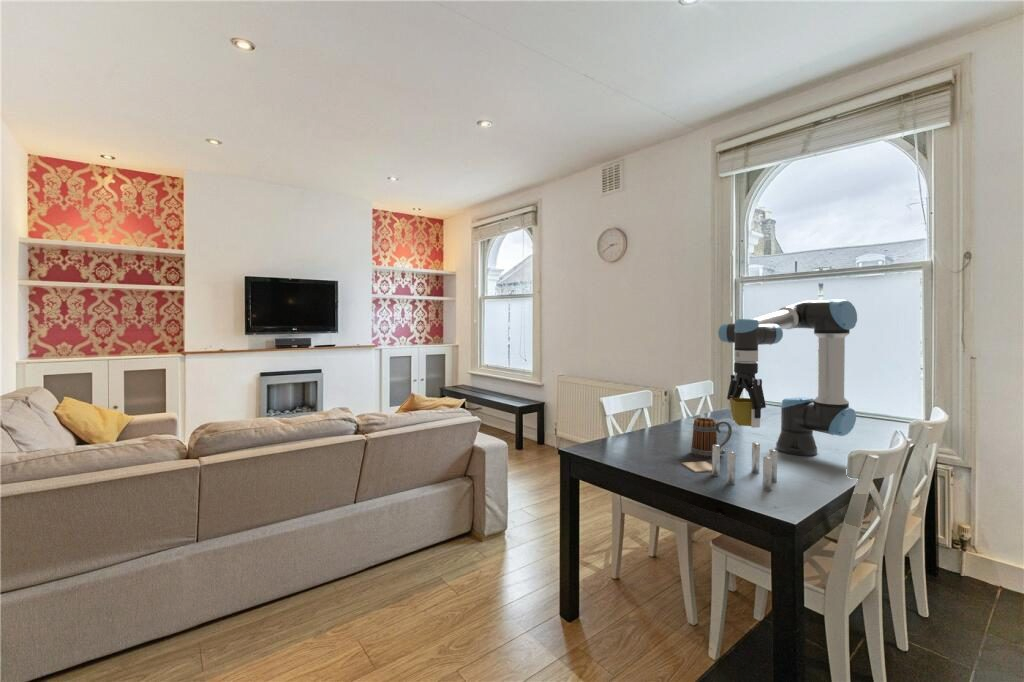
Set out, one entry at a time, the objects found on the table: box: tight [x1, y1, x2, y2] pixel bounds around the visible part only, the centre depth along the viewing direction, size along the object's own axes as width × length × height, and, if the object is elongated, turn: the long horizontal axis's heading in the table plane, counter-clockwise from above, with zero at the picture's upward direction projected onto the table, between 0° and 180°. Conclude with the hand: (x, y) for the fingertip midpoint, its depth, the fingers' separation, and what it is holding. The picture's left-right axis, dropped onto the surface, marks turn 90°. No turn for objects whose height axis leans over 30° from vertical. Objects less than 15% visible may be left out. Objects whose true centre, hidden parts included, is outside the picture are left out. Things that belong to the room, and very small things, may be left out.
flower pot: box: [729, 397, 762, 427], centre depth 163 cm, size 9×9×9 cm
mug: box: [690, 417, 733, 459], centre depth 191 cm, size 16×11×15 cm
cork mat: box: [681, 460, 712, 473], centre depth 175 cm, size 10×10×1 cm
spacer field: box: [711, 441, 778, 493], centre depth 160 cm, size 18×19×11 cm
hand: (745, 423), depth 163 cm, fingers closed on flower pot, 10 cm apart
